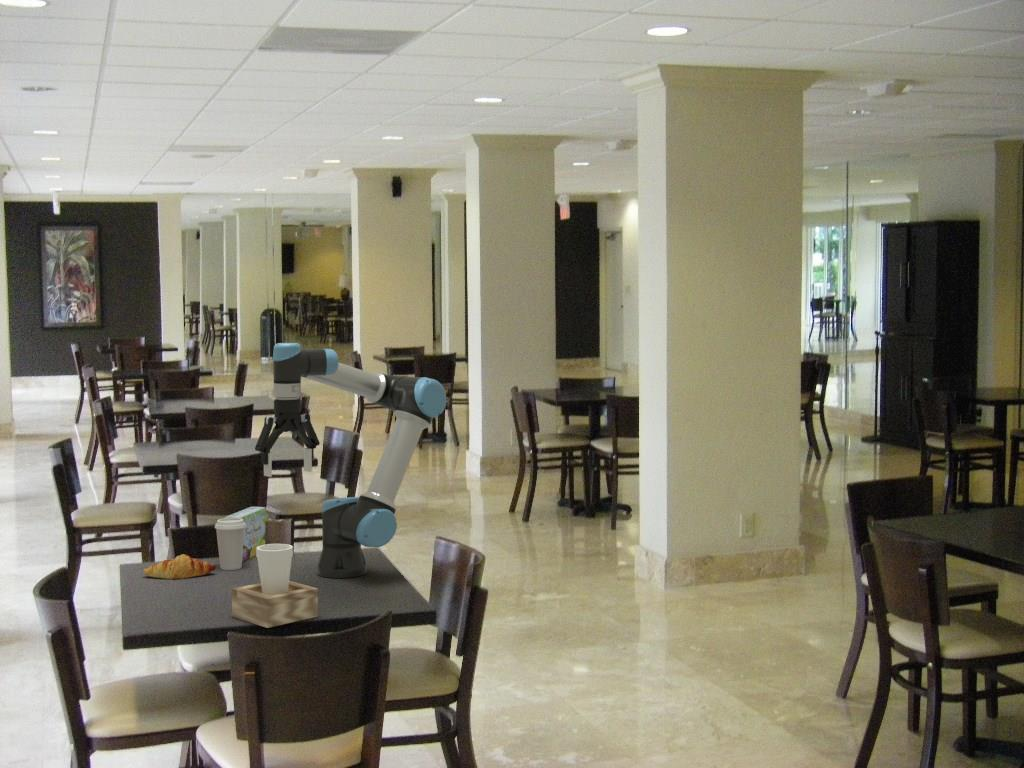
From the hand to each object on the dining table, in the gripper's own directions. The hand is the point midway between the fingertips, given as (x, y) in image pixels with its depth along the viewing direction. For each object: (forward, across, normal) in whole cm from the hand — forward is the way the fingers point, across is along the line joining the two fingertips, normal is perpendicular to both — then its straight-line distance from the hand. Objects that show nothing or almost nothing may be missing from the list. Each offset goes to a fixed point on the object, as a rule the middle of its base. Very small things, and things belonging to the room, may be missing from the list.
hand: (288, 473), depth 346 cm
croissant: (+35, -9, +44) cm, 57 cm away
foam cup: (+29, -16, -16) cm, 37 cm away
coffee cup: (+35, +8, +42) cm, 55 cm away
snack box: (+35, +20, +52) cm, 66 cm away
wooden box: (+35, -16, -16) cm, 41 cm away
